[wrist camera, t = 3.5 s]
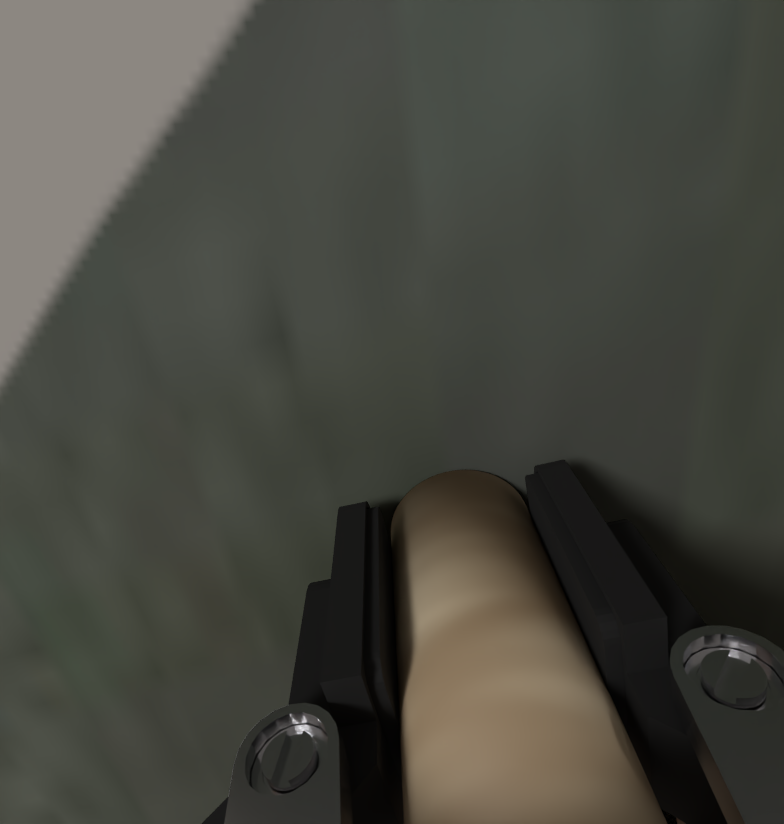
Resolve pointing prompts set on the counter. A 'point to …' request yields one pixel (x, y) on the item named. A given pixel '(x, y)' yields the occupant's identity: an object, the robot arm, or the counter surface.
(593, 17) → the counter surface
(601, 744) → the block
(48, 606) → the counter surface
